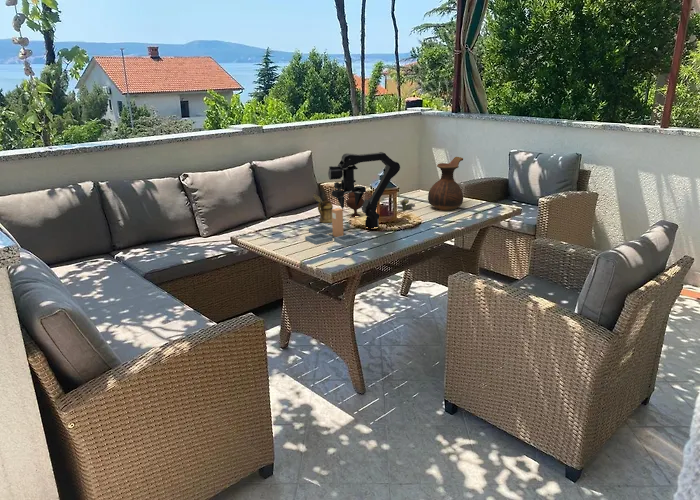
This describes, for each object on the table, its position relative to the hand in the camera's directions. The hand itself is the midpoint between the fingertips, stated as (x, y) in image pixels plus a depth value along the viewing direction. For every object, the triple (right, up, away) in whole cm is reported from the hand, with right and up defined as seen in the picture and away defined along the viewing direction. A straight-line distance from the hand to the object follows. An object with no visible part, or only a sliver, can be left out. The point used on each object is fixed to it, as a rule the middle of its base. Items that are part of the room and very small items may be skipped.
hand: (349, 207), depth 295 cm
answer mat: (-6, -16, -6) cm, 18 cm away
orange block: (-6, -15, -6) cm, 17 cm away
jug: (+59, +3, +45) cm, 74 cm away
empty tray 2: (-1, -19, -16) cm, 25 cm away
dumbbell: (+29, +1, +43) cm, 52 cm away
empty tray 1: (-15, -14, +2) cm, 20 cm away
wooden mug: (-14, -7, +23) cm, 28 cm away
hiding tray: (-15, -18, -13) cm, 27 cm away
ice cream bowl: (+4, -3, +34) cm, 34 cm away
